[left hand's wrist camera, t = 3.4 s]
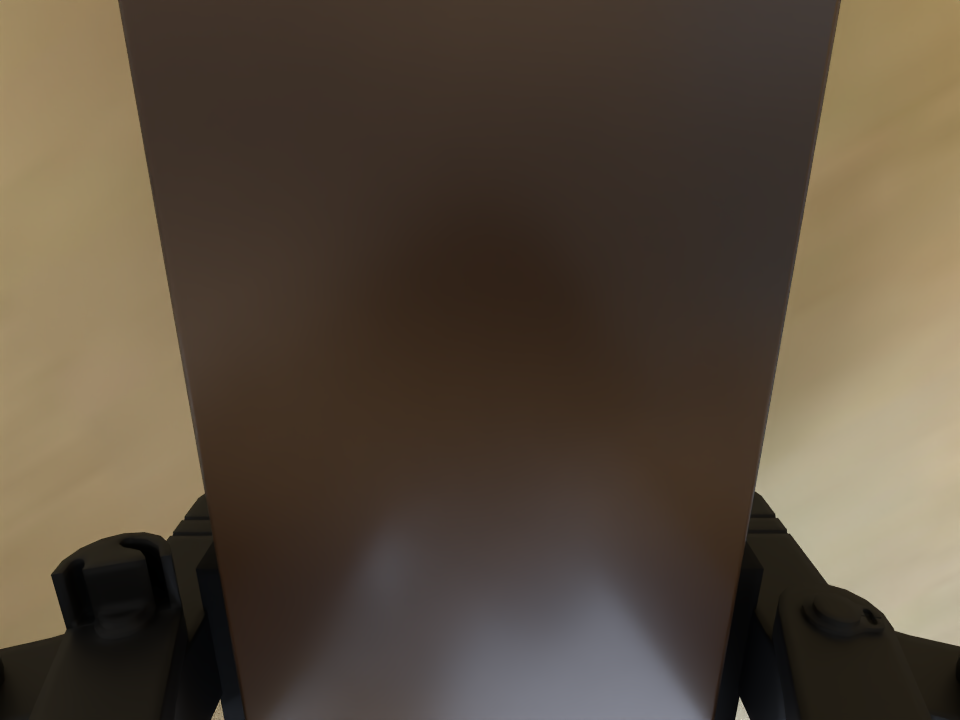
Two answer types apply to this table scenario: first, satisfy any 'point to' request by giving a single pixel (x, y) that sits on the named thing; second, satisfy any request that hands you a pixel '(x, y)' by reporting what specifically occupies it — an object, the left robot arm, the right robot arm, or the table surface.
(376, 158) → the bar
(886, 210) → the table surface
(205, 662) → the left robot arm
